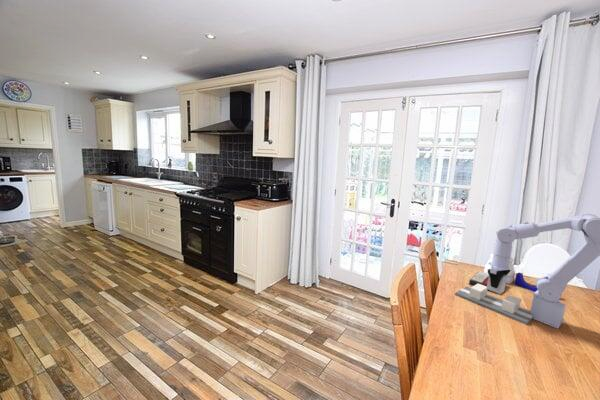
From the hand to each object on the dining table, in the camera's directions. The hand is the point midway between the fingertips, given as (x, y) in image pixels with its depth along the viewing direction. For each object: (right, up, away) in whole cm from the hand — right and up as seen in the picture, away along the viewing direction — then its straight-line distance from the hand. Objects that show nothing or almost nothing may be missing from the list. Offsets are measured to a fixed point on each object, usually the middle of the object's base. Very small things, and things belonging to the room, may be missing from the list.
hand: (496, 285), depth 114 cm
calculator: (+10, -7, +21) cm, 24 cm away
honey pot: (+22, -5, +29) cm, 37 cm away
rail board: (0, -8, +1) cm, 9 cm away
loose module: (0, -2, 0) cm, 2 cm away
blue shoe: (+30, -8, +18) cm, 36 cm away
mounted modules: (0, -7, +1) cm, 7 cm away
